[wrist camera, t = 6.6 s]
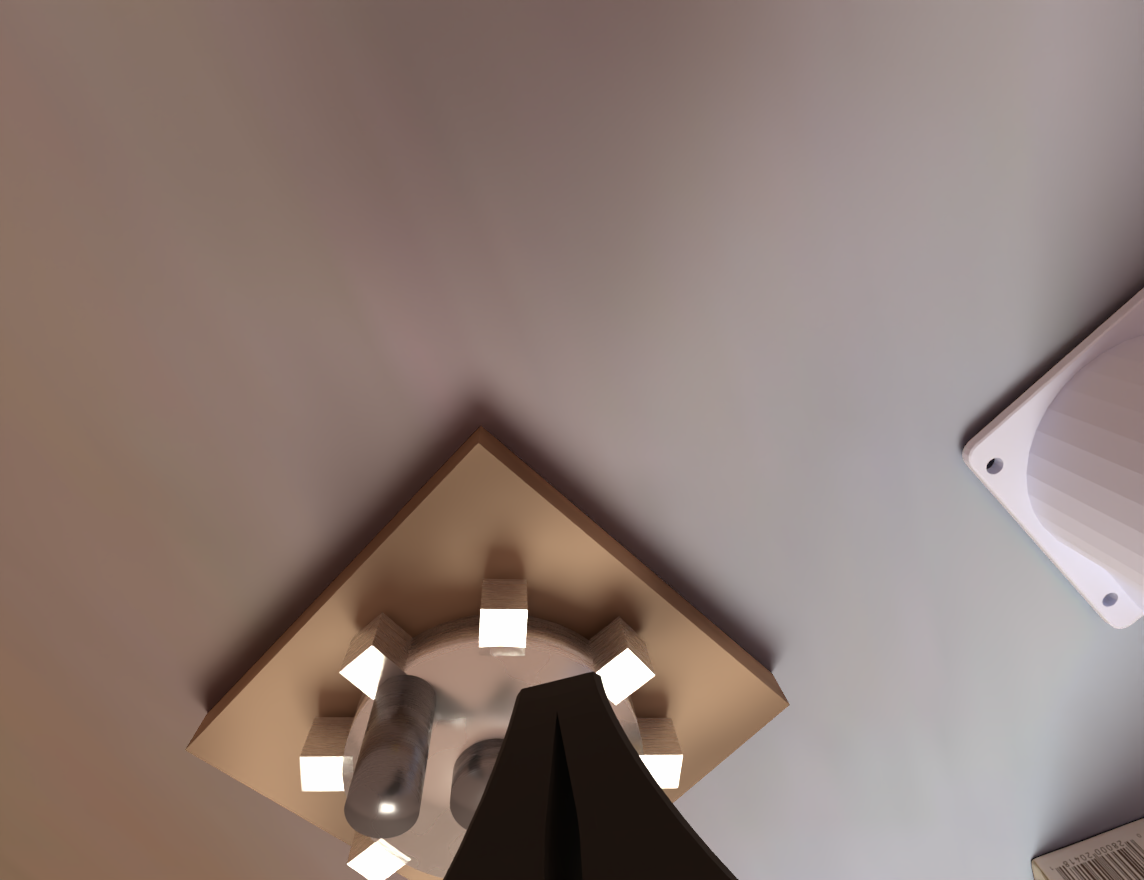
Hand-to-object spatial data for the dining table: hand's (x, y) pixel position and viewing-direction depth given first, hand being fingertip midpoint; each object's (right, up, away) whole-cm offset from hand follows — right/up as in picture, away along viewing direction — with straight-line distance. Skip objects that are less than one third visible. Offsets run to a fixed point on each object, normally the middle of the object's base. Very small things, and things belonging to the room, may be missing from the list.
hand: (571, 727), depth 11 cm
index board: (-2, -4, +11) cm, 12 cm away
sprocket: (-2, -4, +9) cm, 10 cm away
